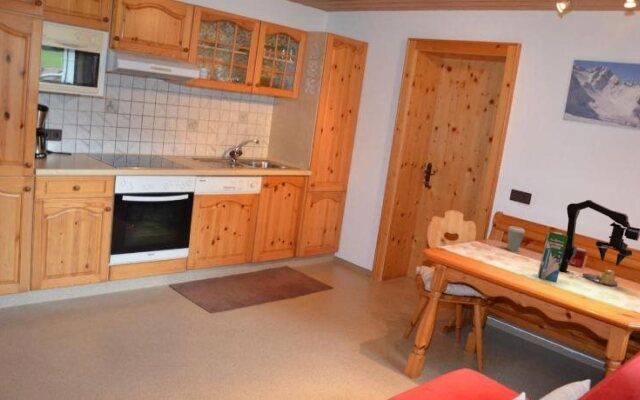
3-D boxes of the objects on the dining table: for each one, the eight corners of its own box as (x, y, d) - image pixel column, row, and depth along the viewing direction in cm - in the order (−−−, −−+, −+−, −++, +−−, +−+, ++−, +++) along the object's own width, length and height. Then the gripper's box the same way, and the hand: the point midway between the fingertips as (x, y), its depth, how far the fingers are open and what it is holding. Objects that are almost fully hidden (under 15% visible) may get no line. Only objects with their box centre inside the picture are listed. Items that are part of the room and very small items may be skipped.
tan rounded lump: (615, 284, 314) (618, 276, 313) (607, 284, 310) (609, 275, 309) (604, 280, 320) (606, 271, 319) (595, 279, 316) (597, 271, 316)
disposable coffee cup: (522, 253, 363) (528, 230, 361) (506, 250, 363) (511, 227, 361) (517, 249, 374) (522, 227, 371) (501, 246, 373) (506, 224, 371)
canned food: (583, 268, 351) (587, 251, 349) (569, 265, 352) (574, 248, 350) (580, 265, 358) (584, 249, 356) (567, 263, 359) (571, 246, 358)
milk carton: (555, 278, 306) (566, 233, 302) (556, 282, 297) (568, 235, 294) (537, 274, 309) (548, 229, 305) (538, 277, 300) (549, 231, 297)
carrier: (603, 285, 310) (606, 274, 309) (575, 275, 326) (578, 264, 325) (625, 286, 319) (628, 275, 319) (597, 276, 335) (600, 265, 334)
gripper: (641, 241, 309) (634, 269, 311) (611, 232, 325) (604, 258, 327) (628, 240, 303) (621, 268, 306) (598, 230, 320) (591, 257, 322)
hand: (609, 263), depth 315 cm, fingers open, 9 cm apart
